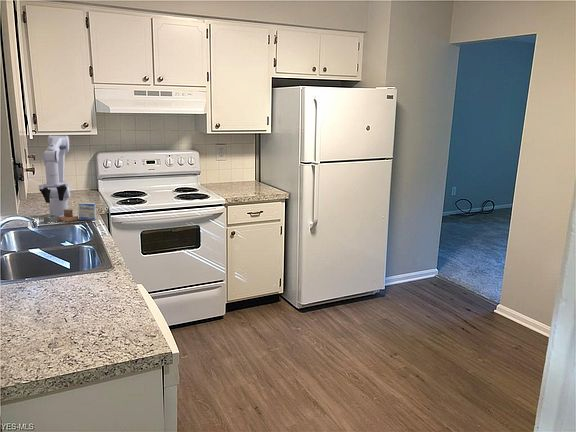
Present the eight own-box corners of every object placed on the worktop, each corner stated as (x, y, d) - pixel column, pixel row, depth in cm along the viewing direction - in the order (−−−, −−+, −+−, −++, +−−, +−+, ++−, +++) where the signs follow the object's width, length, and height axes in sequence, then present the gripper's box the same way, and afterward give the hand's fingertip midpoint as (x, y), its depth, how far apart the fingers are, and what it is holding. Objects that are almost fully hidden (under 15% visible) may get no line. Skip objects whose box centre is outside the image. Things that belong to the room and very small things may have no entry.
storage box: (43, 222, 231) (43, 216, 230) (52, 220, 235) (52, 214, 235) (50, 223, 229) (50, 217, 228) (59, 221, 233) (58, 215, 233)
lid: (67, 221, 232) (67, 211, 231) (59, 220, 235) (58, 210, 234) (78, 219, 238) (77, 209, 237) (69, 217, 241) (68, 208, 240)
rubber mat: (57, 220, 235) (57, 220, 235) (69, 218, 241) (69, 217, 241) (67, 222, 232) (67, 221, 232) (80, 219, 238) (80, 219, 238)
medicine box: (78, 220, 236) (78, 203, 234) (80, 218, 240) (79, 202, 238) (94, 220, 238) (94, 204, 236) (96, 218, 242) (95, 202, 240)
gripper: (44, 176, 220) (47, 204, 223) (70, 174, 233) (72, 200, 236) (34, 175, 223) (37, 203, 226) (60, 173, 236) (62, 199, 239)
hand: (54, 201), depth 231 cm, fingers open, 7 cm apart
